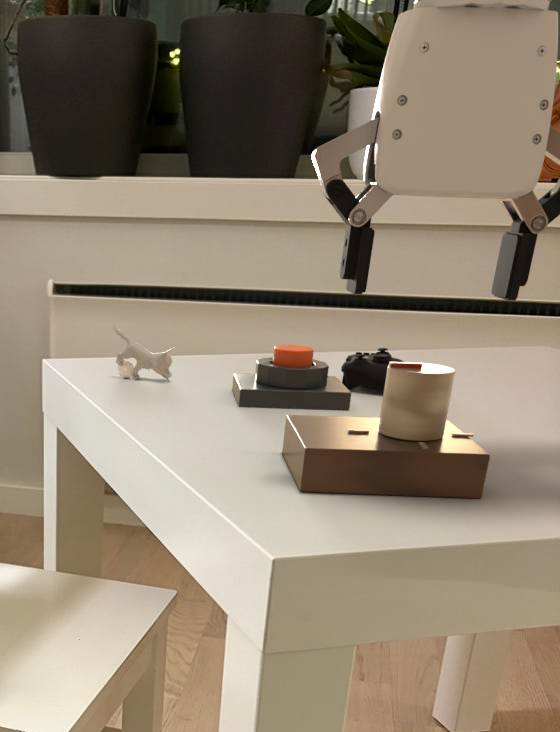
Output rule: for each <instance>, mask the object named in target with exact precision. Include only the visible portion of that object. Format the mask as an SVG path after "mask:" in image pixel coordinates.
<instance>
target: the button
mask: <svg viewBox="0 0 560 732" xmlns="http://www.w3.org/2000/svg"><path fill="white" fill-rule="evenodd" d="M314 349H315V348H313V347H312V346H308V345H300V344H278V345H275V346H274V348H273V356H272V357H273V364H275V365H279V366H288V367H309V366H312V360H314V351H315V350H314Z"/></svg>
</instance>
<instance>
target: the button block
mask: <svg viewBox="0 0 560 732" xmlns="http://www.w3.org/2000/svg"><path fill="white" fill-rule="evenodd" d="M329 368H330V365H329V364H328V363H327V362H325V361H322V360H317V359H313V360H312V366H309V367H288V366H279V365H275V364H273V356H272V357H270V356H269V357H263V358H260V359H257V360H256V362H255V373H243V372H241V373H240V372H235V373H233V374H232V375H233V376H232V387H231V390H232V393H233V395H234V399H235V402H236V403H237V406H238V408H253V409H257V408H258V409H284V410H285V409H287V410H311V411H312V410H313V411H314V410H317V411H343V412H344V411H346V412H348V411H350V407H351V401H352V392H351V390H348V389H347V388H346V387H345V385H344V384H343V383H342V381H341V380H340V379H339V377H338V376H336V375H329Z"/></svg>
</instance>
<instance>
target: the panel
mask: <svg viewBox="0 0 560 732" xmlns="http://www.w3.org/2000/svg"><path fill="white" fill-rule="evenodd" d="M379 420H380V417H367V416H365V417H364V416H335V415H310V414H309V415H306V414H286V415H285V424H284V433H283V443H282V450H281V451H282V452H281V454H282V456H283V458H284V460H285V462H286V465H287V466H288V468H289V471H290V473H291V476H292V477H293V479H294V481H295V483H296V486H297V488H298V490H299V492H301V493H323V494H324V493H326V494H349V495H351V494H353V495H355V494H356V495H380V496H404V497H405V496H406V497H430V498H431V497H432V498H433V497H434V498H454V499H455V498H457V499H458V498H460V499H482V497H483V492H484V487H485V484H486V483H485V482H486V477H487V473H488V472H487V471H488V467H489V463H490V457H491V454H490V453H489V452H487V451H486V450H485V449H484V448H483V447H481V446H480V445H479V444H478V443H476V442H475V441H474V440H473V439H472V438H473V437H475V436H474V435H475V434H473V433H472V432H469V433H468V432H463V431H462V430H461V429H459V428H458V427H457V426H455V424H453V423H452V422H451V421H450V420H448V419H446V424H445V430H444V435H443V437H442V438H441V439H437V440H431V441H412V440H403V439H397V438H392V437H388V436H385V435H383V434H381V433H380V432H379V431H378V427H379Z"/></svg>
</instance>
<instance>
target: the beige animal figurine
mask: <svg viewBox="0 0 560 732" xmlns="http://www.w3.org/2000/svg"><path fill="white" fill-rule="evenodd" d="M113 330H114V331H115V333H116V334H117V335H118V337H119V338H121V339H122V340H124V341H125V342H126V343H127V346H126V347H125V348H124V350H123V351H121V352H120V353H117V356H116V360H115V363H116V364H117V365H118V367H117V371H118V374H119V376H120V377H122V378H123V379H129V378H131V379H132V380H133V381H136V380H137V379H140V374H138V373H139V371H141V370H142V369H145V370H147V371H148V372H149V371H150V370H152V371H153V372H155V373H156V374H158V375H159V376H161V377H163V378H165V379H166V380H167V382H169V379H170V378H171V377H172V376H173V374H172V372H171V371H170V367H171V365H172V363H173V358H172V356H171V354H170V353H171V351H173V350H174V349H175V348H176V346H175V347H172V348H169V349H168V350H166V351H160V352H155V353H153V352H151V351H149V350H148V349H147V348H145V347H144V346H143V345H141V344H140V343H138V342H136V341H134V340H132V339H131V338H130V337H129V336H128V335H127V334H126V333H125V332H124V331H123V330H122V329H120V328H119V327H118V326H117V325H115V324H113ZM129 359H135V361H136V364H135V366H134V365H133V363H132V362H131V361H128V360H129Z"/></svg>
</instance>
